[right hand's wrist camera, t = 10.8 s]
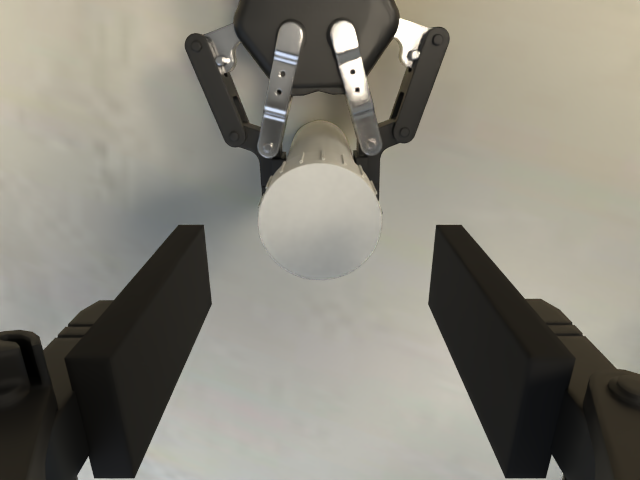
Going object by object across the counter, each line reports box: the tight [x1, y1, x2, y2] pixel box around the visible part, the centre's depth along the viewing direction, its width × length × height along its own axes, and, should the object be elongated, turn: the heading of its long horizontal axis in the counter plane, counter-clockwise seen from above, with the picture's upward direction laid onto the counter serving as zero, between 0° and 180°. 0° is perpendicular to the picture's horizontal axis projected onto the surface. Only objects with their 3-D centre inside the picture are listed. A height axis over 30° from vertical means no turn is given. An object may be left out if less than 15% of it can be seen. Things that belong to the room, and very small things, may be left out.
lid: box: [258, 149, 382, 280], centre depth 19 cm, size 5×5×2 cm
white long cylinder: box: [286, 120, 355, 163], centre depth 25 cm, size 4×4×16 cm
